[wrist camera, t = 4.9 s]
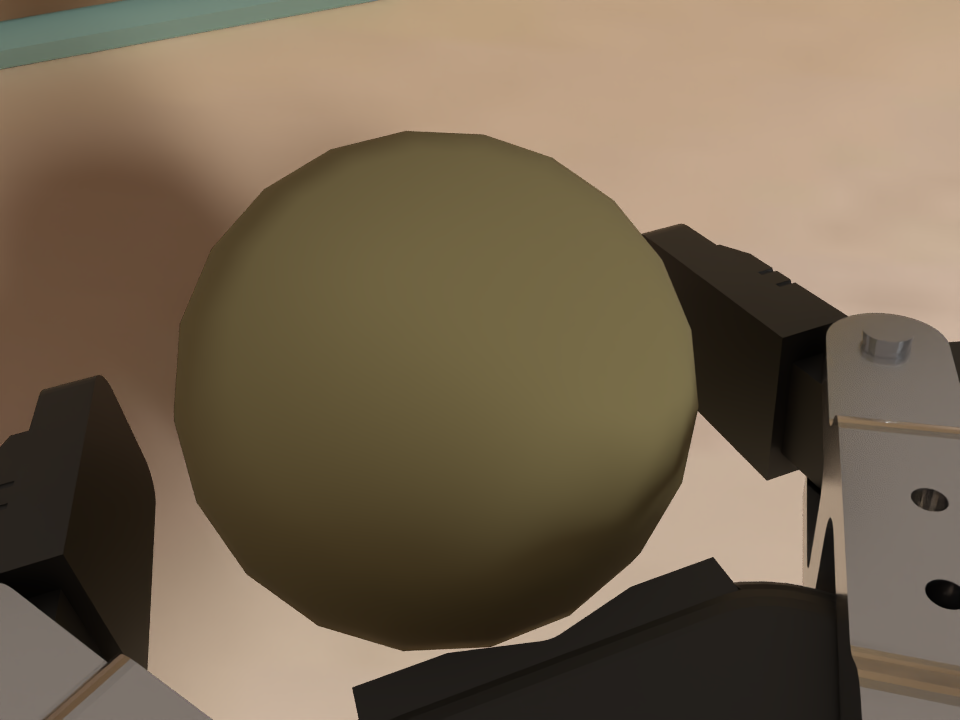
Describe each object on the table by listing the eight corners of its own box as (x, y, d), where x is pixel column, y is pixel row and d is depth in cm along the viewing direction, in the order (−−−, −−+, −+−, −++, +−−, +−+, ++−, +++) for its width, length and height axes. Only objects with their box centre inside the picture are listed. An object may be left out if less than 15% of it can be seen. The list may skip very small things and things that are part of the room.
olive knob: (553, 361, 18) (810, 91, 7) (524, 633, 16) (794, 781, 6) (293, 319, 17) (168, -39, 7) (237, 597, 16) (-37, 689, 5)
